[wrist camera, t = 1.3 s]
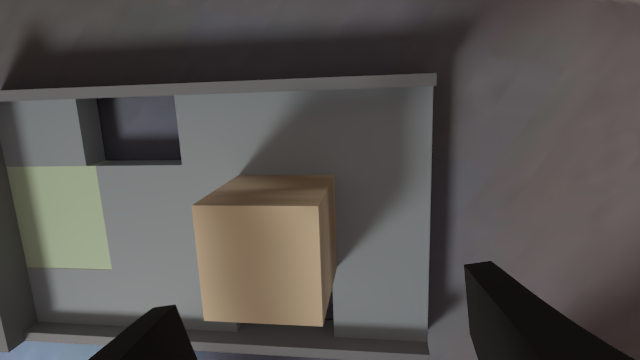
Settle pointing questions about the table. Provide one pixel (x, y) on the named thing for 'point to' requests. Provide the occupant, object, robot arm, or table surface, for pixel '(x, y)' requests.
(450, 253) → the table surface
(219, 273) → the block
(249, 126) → the board
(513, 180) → the table surface
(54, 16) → the table surface
